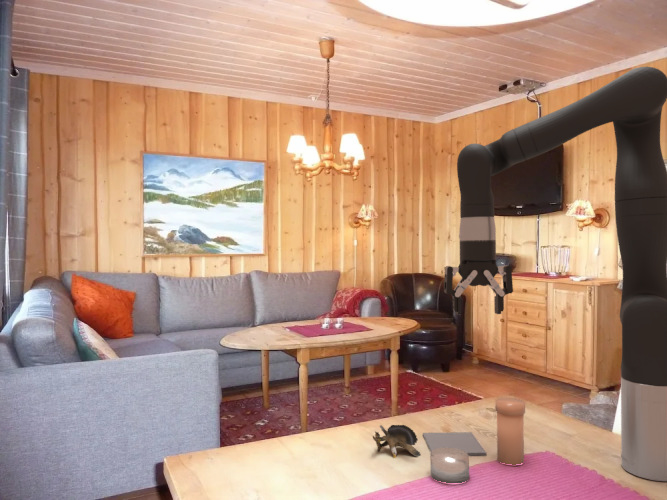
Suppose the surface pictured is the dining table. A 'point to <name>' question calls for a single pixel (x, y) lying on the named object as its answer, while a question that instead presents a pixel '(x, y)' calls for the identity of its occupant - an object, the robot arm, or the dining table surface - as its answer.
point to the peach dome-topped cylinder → (510, 430)
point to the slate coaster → (455, 442)
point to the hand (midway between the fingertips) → (478, 313)
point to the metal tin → (449, 465)
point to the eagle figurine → (397, 439)
